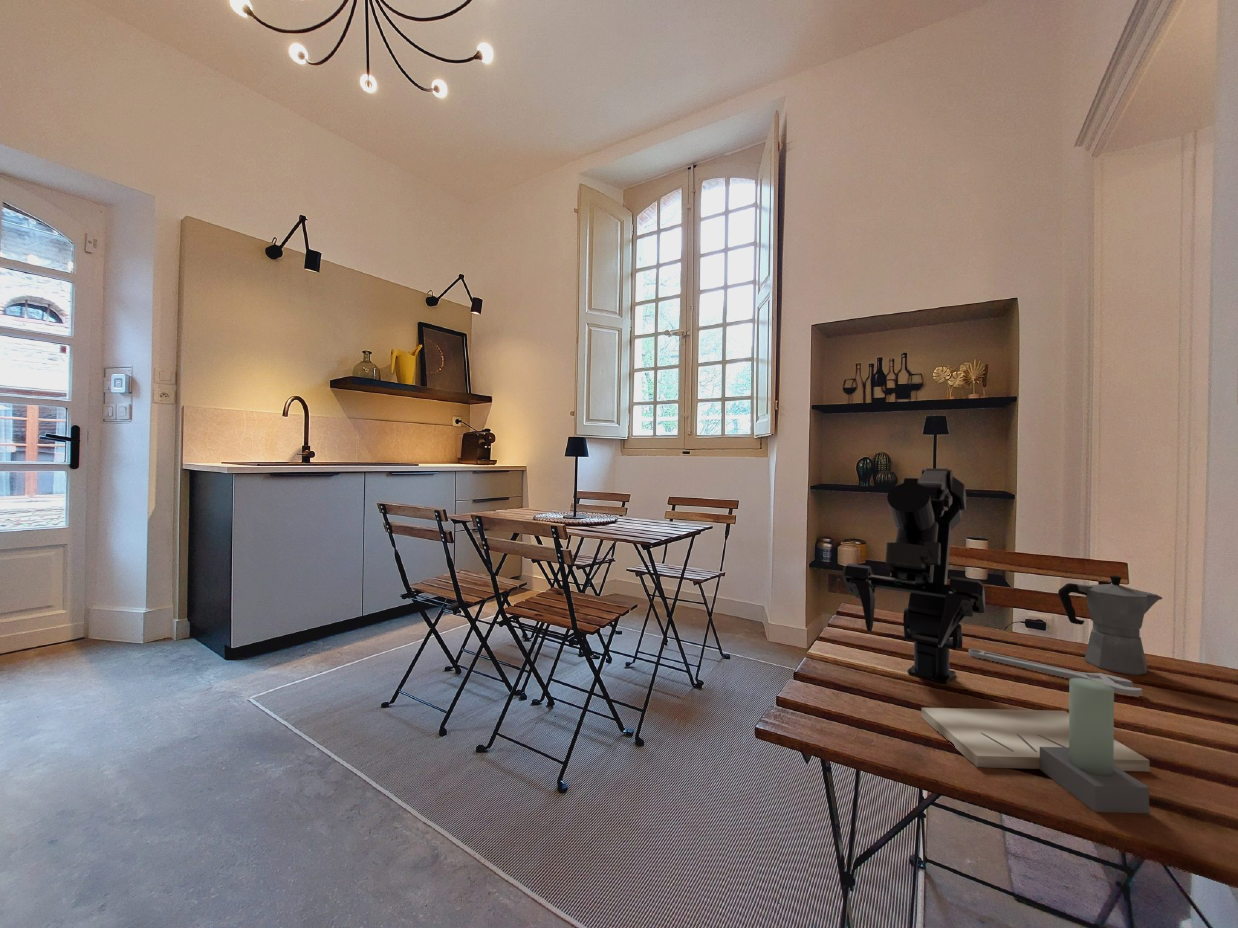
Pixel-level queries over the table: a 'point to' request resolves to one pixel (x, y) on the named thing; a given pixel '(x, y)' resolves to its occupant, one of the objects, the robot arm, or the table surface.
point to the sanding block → (1093, 754)
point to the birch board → (1013, 736)
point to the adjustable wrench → (1061, 671)
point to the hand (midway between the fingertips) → (902, 638)
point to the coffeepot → (1113, 624)
